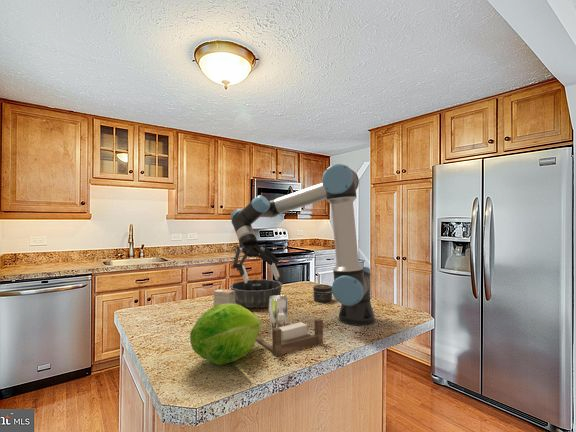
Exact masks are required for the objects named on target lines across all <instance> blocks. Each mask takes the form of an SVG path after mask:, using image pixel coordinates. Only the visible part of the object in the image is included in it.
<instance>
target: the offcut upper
mask: <svg viewBox="0 0 576 432" xmlns="http://www.w3.org/2000/svg"><path fill="white" fill-rule="evenodd" d="M290 324H291V325H287V326H283V327H279V328H280V329H281V339H282V340H286V339H290V338H294V337H297V336H301V335H305V334H307V332H308V324H307V323H303V322H302V321H300V322H297V323H290Z"/></svg>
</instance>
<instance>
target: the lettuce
mask: <svg viewBox="0 0 576 432" xmlns="http://www.w3.org/2000/svg"><path fill="white" fill-rule="evenodd" d="M193 325H194V326H193V327H192V329H191V330H190V334H189V339H190V342H189V343H190V345H191V348H192V350H193V351H194V353H196V354H197V355H198V356H200V357H201V358H202V359H204V360H206V361H209V362H211V363H213V364H215V365H217V366H221V365H227V364H230V363H234V362H236V361H238V360H239V359H240V360H241V358H243V357H245V356H247V355H248V353H249V352H250V351H251V350H252V348H253V347H254V346H255V343H256V342H257V341H256V339H257V336H259V332H260V330H261V329H262V328H263V321H262V319H261V318H260V317H258V316H257V315H256V314H254V313H253V312H251V311H250V310H249V309H248V308H247V307H246V308H244V307H243V306H241V305H238V304H236V303H235V304H231V303H230V304H221V305H217V306H214V305H213V306H212V307H211V308H210V309H209V310H207V311H205V312H204V313H202V315H201V316H200V317H198V319H197V320H196V321H195V323H194V324H193Z"/></svg>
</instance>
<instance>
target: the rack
mask: <svg viewBox="0 0 576 432" xmlns="http://www.w3.org/2000/svg"><path fill="white" fill-rule="evenodd" d="M291 324H292V323H289V322H288V323H287V322H286V326H287V325H291ZM256 342H257V343H258V344H260V345H261V346H262V347H264V348H265V349H267V350H268V351H269V352H270V353H272V355H274V356H275V357H277V356H282V355H284V354H287V353H291V352H296V351H298V350H302V349H305V348H308V347H309V348H310V347H312V346H317V345H321V344H323V343H324V320H323V319H322V318H316V319H314V334H310V336H307V337H303V338H299V339H295V340H291V341H287V342H283V343H281V329H280V328H274V329H273V338H272V345H271V344H270V343H268V342H267V341H266V340H264V339H263V338H262V337H260V336H259V335H258V336H257V339H256Z"/></svg>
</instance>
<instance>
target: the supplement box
mask: <svg viewBox="0 0 576 432" xmlns="http://www.w3.org/2000/svg"><path fill="white" fill-rule="evenodd" d="M230 303H231V304H236V302H235V290H231V289H225V288H218V289H215V290H213V307H214V306H217V305H221V304H230Z"/></svg>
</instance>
